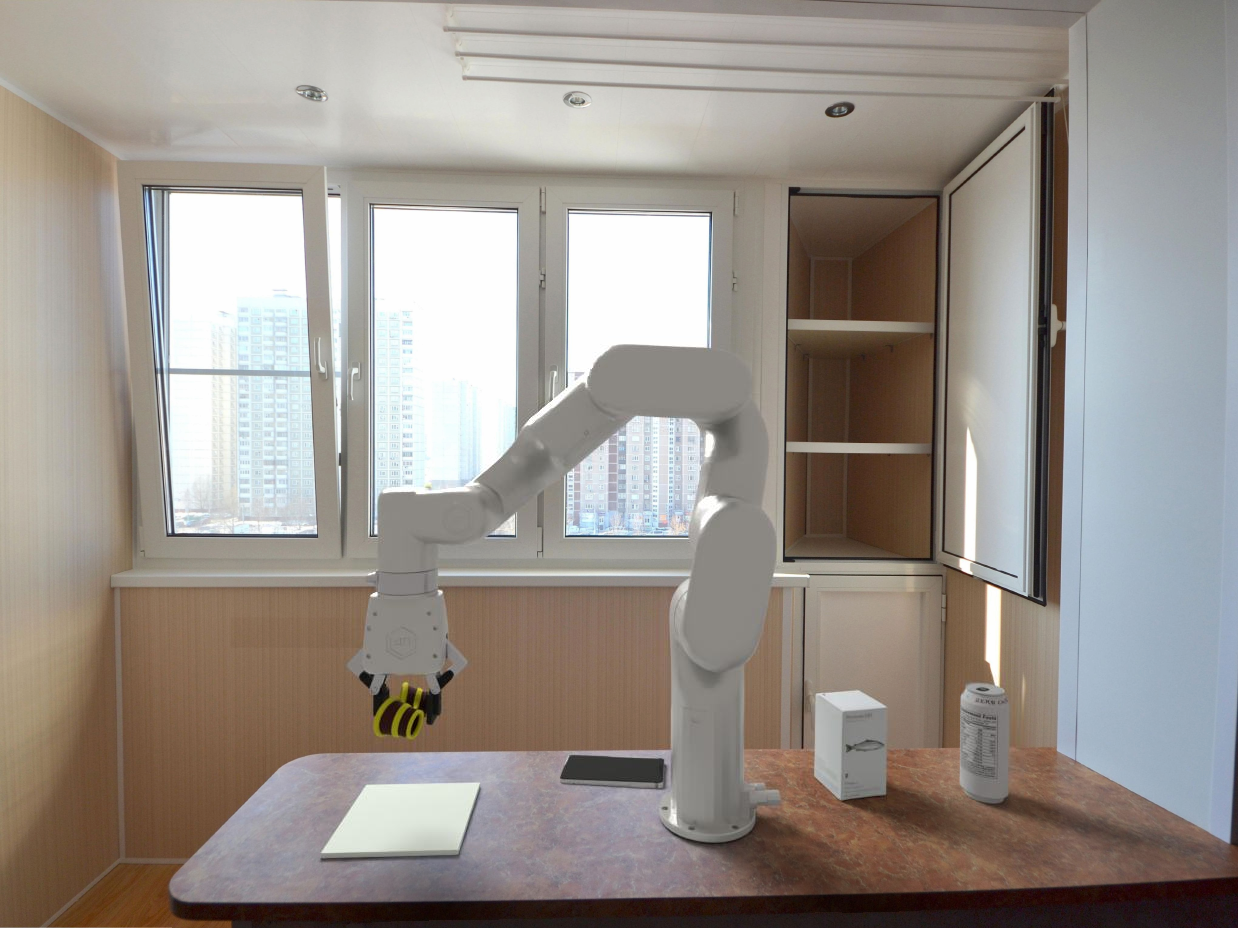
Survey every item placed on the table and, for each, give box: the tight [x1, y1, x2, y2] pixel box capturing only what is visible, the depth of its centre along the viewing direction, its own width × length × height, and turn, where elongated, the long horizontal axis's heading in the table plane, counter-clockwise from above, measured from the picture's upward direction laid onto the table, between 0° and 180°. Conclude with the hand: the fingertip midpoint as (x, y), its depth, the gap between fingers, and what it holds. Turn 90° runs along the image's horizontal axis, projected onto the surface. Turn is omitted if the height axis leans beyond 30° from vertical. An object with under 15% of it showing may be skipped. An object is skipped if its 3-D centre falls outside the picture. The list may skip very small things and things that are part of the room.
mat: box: [320, 781, 481, 859], centre depth 86 cm, size 16×16×1 cm
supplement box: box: [813, 689, 888, 802], centre depth 94 cm, size 7×7×13 cm
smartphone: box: [559, 754, 665, 789], centre depth 98 cm, size 8×1×15 cm
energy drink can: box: [959, 681, 1011, 804], centre depth 92 cm, size 6×6×15 cm
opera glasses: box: [372, 681, 429, 740], centre depth 86 cm, size 10×5×5 cm, turn 179°
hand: (407, 719), depth 85 cm, fingers closed on opera glasses, 5 cm apart
